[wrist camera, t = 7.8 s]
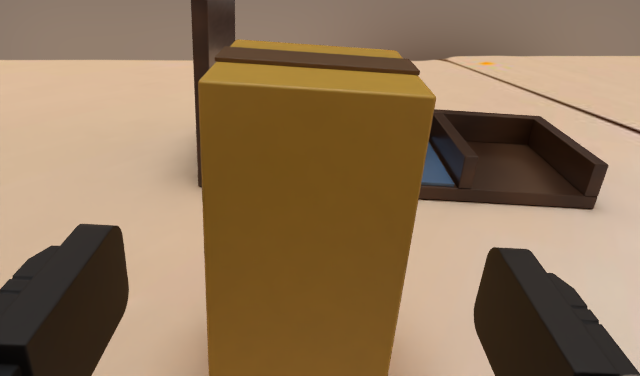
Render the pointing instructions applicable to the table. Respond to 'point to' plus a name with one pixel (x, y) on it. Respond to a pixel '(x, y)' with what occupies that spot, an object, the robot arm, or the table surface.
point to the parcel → (308, 205)
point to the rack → (456, 141)
